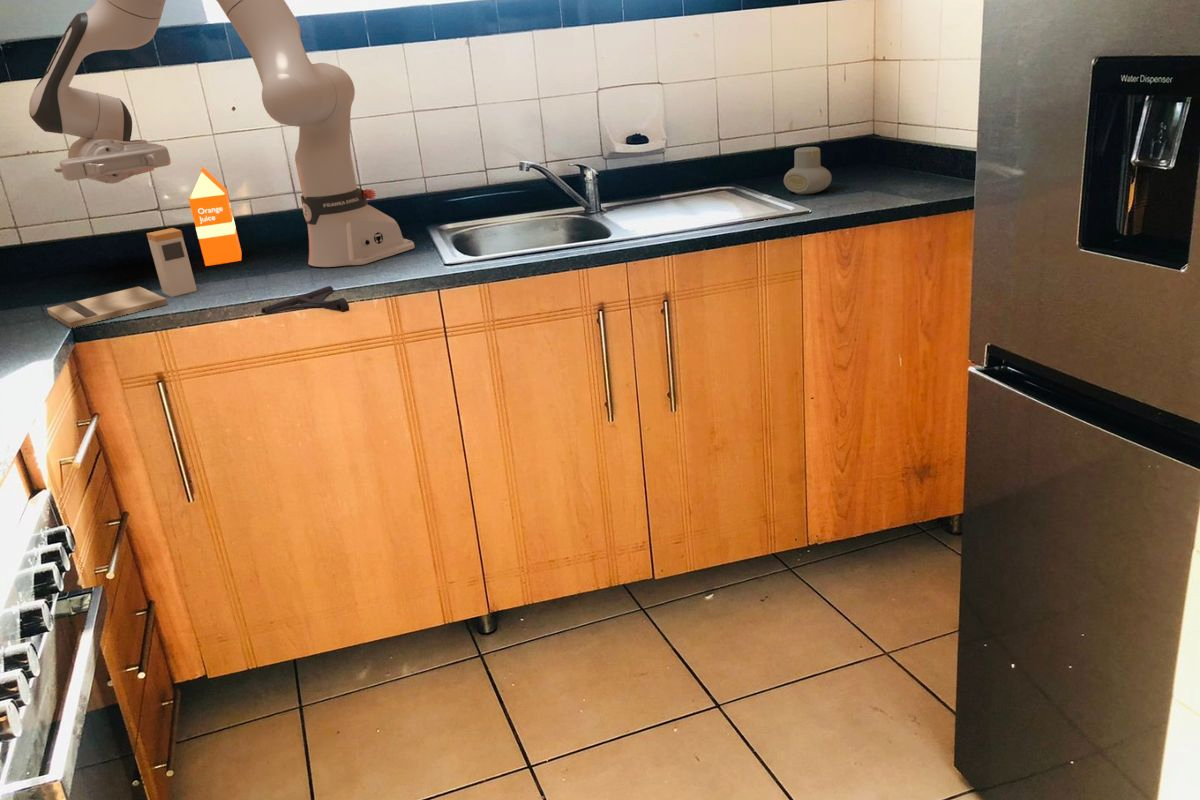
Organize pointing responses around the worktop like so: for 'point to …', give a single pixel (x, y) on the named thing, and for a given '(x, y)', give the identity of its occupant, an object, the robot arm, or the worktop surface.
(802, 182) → the air freshener
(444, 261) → the worktop surface
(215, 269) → the worktop surface
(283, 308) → the bracket
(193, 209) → the orange juice
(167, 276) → the orange-capped beige carton
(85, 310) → the subfloor panel
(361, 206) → the robot arm
